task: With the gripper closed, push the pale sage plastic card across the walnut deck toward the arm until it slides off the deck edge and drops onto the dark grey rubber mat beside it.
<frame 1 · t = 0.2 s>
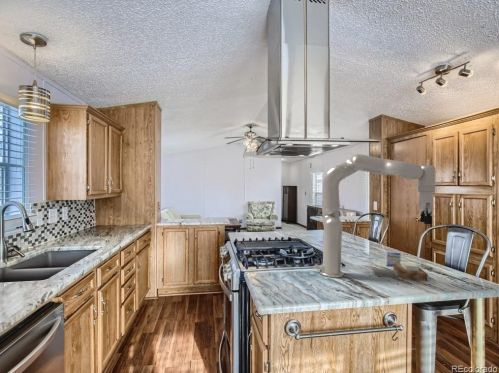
hand: (425, 222, 140), 31 cm above the counter, fingers open, 9 cm apart
mat: (384, 273, 154), on the counter
medicine box: (392, 266, 170), on the counter
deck: (409, 275, 151), on the counter
card: (409, 268, 151), point 4 cm above the counter, touching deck
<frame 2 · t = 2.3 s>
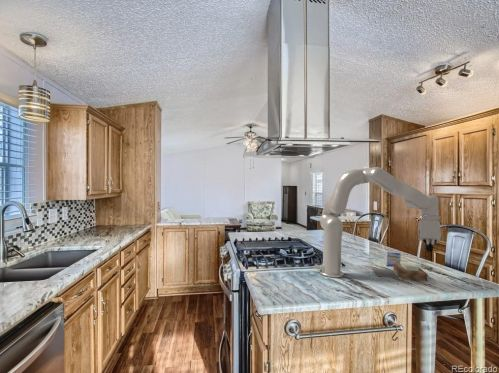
hand: (429, 251, 149), 14 cm above the counter, fingers closed
nothing on the counter moved.
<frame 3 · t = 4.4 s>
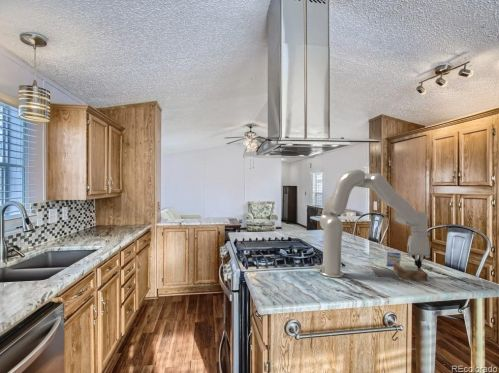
hand: (417, 267, 150), 5 cm above the counter, fingers closed
card: (408, 268, 151), point 4 cm above the counter, touching gripper
everything else where it was.
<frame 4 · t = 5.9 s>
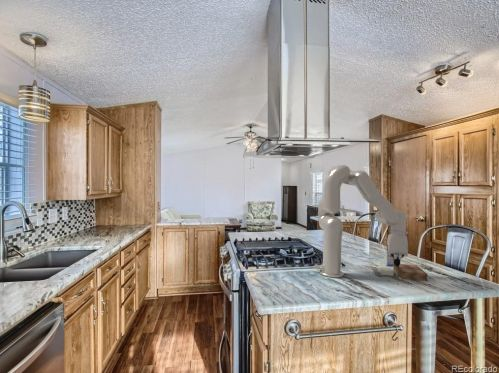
hand: (396, 265, 153), 5 cm above the counter, fingers closed
card: (385, 268, 154), point 3 cm above the counter, tilted 180°, touching mat
everything else where it was.
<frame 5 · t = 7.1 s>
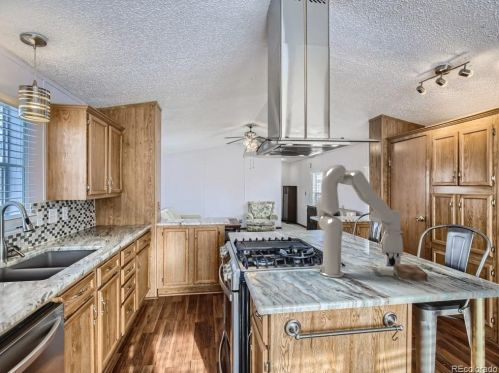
hand: (391, 265, 153), 5 cm above the counter, fingers closed
nothing on the counter moved.
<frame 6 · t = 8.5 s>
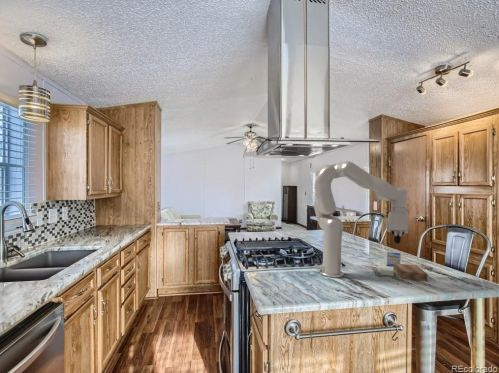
hand: (397, 243, 153), 18 cm above the counter, fingers closed
nothing on the counter moved.
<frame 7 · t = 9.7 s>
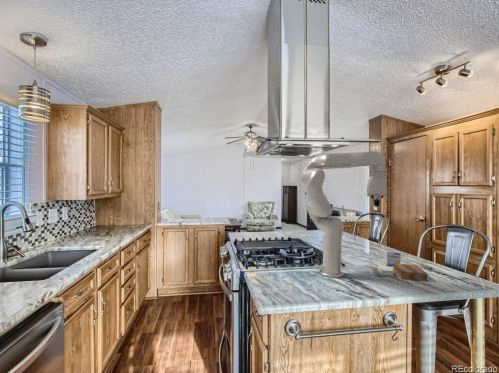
hand: (376, 206, 159), 37 cm above the counter, fingers closed
nothing on the counter moved.
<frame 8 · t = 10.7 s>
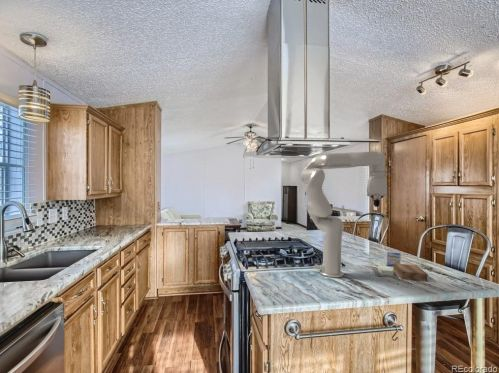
hand: (376, 206, 159), 37 cm above the counter, fingers closed
nothing on the counter moved.
at the end: card inside the target area (0.2 cm from its centre), point 2.7 cm above the counter; card point 2.7 cm above the counter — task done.
